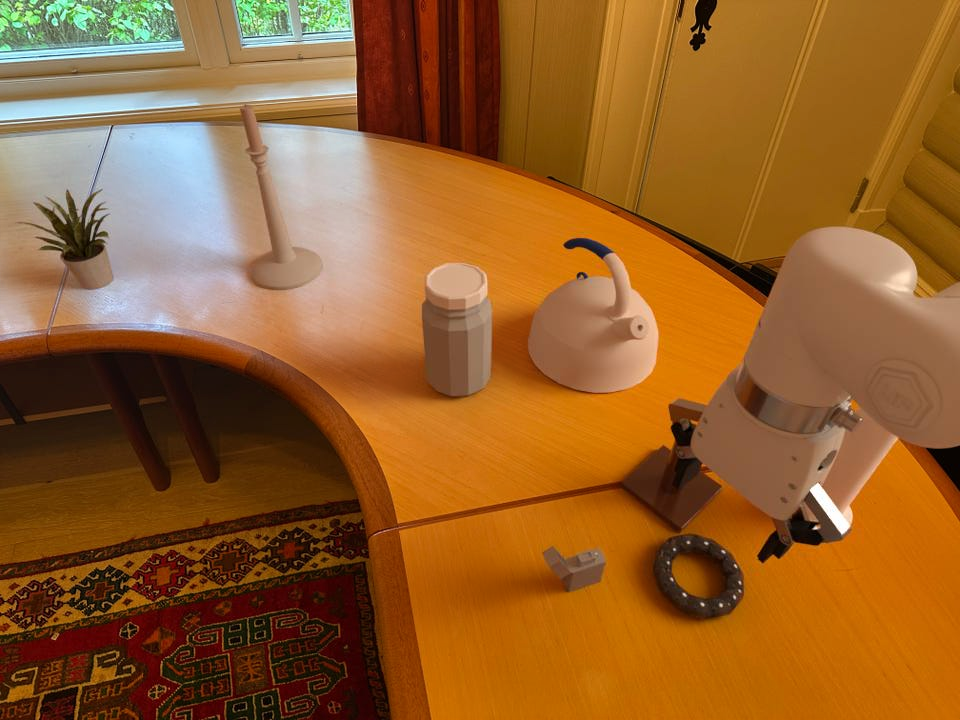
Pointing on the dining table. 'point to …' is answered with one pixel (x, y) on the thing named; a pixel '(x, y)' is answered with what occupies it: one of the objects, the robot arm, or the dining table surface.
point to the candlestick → (276, 226)
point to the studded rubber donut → (682, 598)
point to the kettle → (595, 329)
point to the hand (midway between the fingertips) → (724, 514)
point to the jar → (457, 329)
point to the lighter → (576, 567)
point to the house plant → (79, 243)
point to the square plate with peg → (670, 489)
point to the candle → (855, 463)
